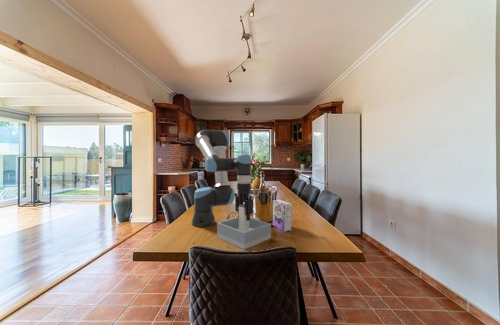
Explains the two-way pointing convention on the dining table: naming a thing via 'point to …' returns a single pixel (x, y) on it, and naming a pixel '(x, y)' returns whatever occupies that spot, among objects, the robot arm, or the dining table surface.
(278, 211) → the candy box
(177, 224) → the dining table surface
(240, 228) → the connector
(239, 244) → the walled box
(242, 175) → the robot arm
